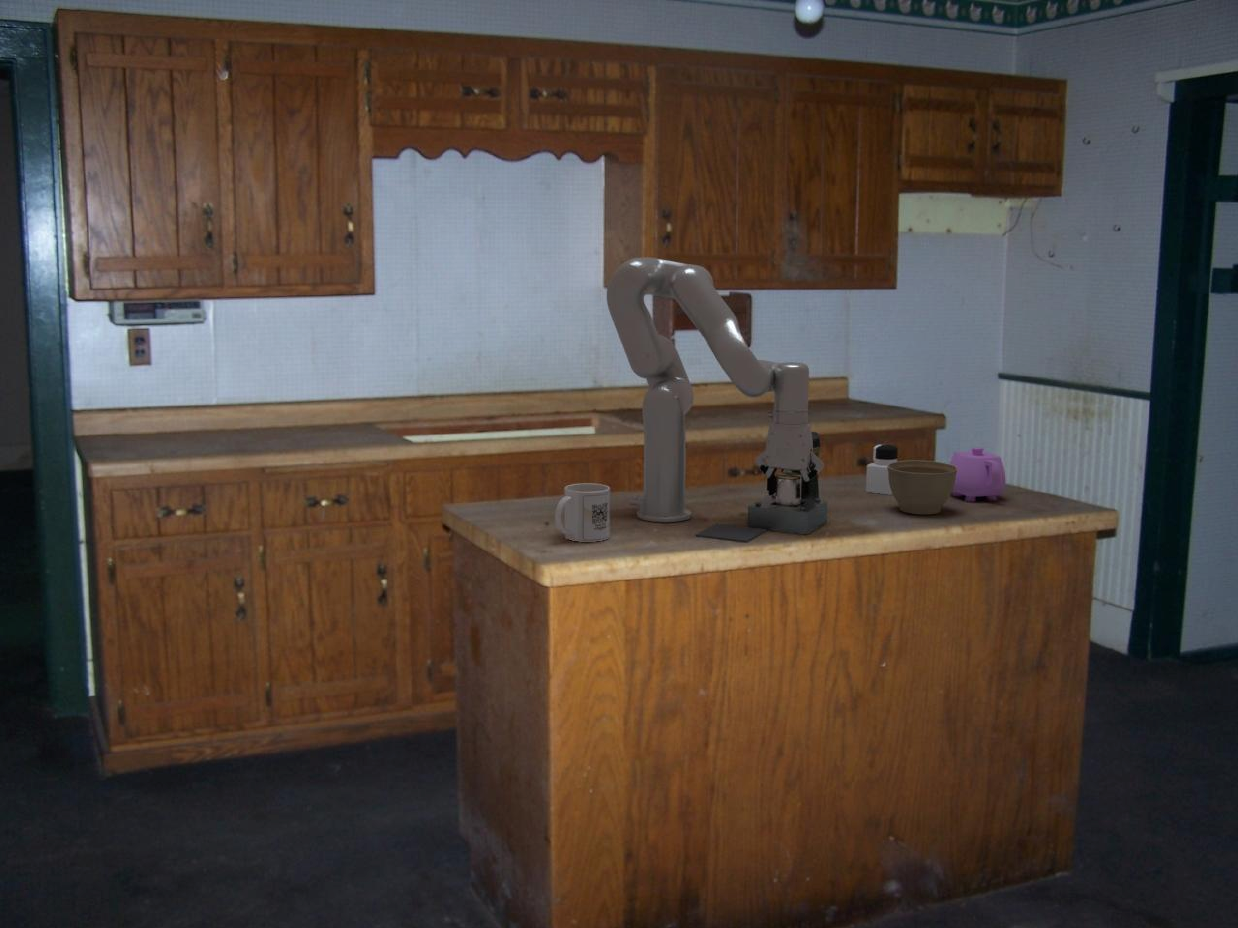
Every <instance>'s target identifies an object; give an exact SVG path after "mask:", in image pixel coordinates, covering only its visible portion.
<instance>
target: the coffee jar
mask: <svg viewBox="0 0 1238 928" xmlns="http://www.w3.org/2000/svg"><path fill="white" fill-rule="evenodd" d="M811 433H812V441H813V453H814V454H815V455H816V456H817V457H818V458H819V455H820V451H821V441H820V440H821V438H820V435H819V433H818V432H816V431H811ZM815 467H816V465H815V464H814V463H813V464H812V466H811V467H809V469H810V471H812V470H813V469H814V468H815ZM780 470H781V472H780V473H784V472H790V473H798V474H801V472H800V470H788V469H780ZM802 481H803V476H802V474H801V484H802ZM819 487H820V486H819V473H818V474H817V475H816V476H815V477H813V479H811V491H810V495H808V497H807V498H806V499H815V498H819V499H820V489H819Z"/></svg>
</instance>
